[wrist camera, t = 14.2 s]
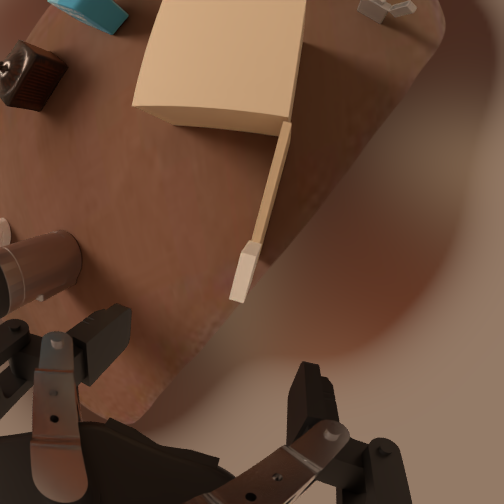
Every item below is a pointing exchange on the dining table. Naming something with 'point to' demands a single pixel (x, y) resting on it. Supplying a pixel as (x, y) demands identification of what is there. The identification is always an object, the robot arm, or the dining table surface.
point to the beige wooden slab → (261, 219)
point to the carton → (223, 64)
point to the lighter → (384, 9)
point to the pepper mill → (29, 76)
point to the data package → (94, 13)
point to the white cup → (4, 232)
